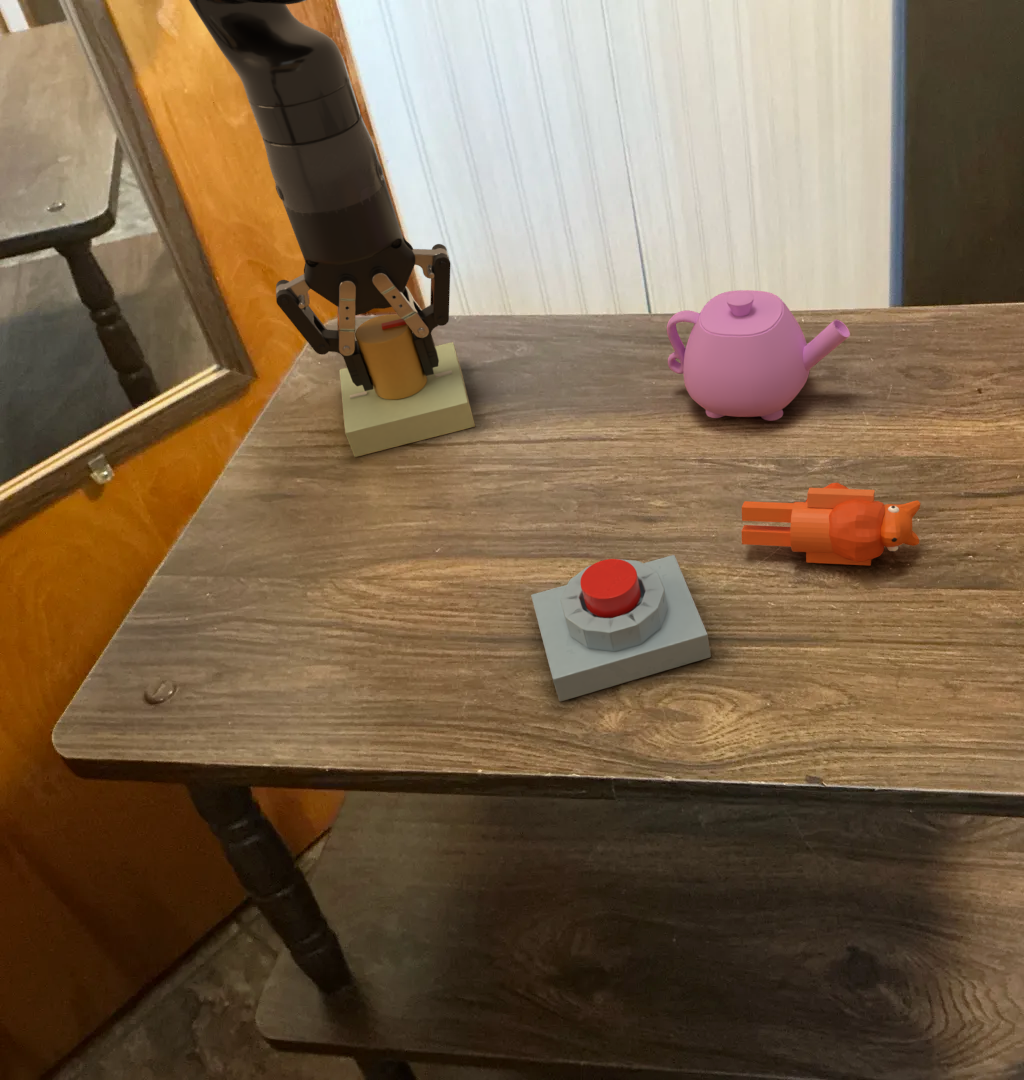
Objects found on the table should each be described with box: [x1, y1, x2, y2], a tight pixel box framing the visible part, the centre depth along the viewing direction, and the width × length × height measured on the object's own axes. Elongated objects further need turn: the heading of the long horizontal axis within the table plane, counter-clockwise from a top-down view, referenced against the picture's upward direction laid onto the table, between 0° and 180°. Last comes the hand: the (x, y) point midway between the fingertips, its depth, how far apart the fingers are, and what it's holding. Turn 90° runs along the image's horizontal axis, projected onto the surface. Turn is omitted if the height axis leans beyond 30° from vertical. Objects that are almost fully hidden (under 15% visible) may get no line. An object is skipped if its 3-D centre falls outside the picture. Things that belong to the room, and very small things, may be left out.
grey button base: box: [530, 554, 712, 702], centre depth 74 cm, size 10×8×4 cm
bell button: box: [580, 558, 641, 618], centre depth 72 cm, size 4×4×2 cm
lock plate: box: [338, 341, 476, 458], centre depth 97 cm, size 10×10×3 cm
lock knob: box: [355, 313, 427, 400], centre depth 94 cm, size 4×4×6 cm
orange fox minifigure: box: [741, 482, 921, 566], centre depth 78 cm, size 5×8×12 cm
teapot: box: [666, 289, 851, 422], centre depth 91 cm, size 10×15×9 cm
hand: (398, 377), depth 95 cm, fingers closed on lock knob, 4 cm apart
